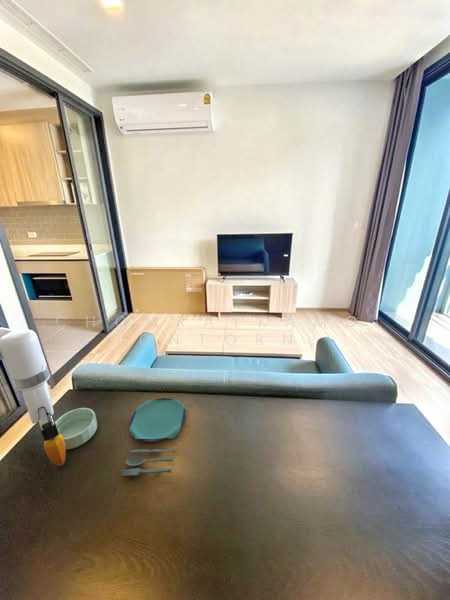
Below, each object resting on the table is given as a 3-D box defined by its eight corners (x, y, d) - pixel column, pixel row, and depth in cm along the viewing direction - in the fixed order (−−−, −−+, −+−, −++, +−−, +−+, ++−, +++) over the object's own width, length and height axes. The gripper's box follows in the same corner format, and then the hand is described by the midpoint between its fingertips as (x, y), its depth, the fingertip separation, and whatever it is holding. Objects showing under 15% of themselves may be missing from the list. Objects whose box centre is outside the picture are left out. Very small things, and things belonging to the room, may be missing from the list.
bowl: (57, 458, 78) (53, 447, 76) (51, 431, 88) (48, 420, 86) (102, 435, 86) (99, 424, 84) (92, 412, 95) (89, 402, 94)
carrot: (66, 454, 79) (54, 418, 74) (74, 463, 76) (62, 426, 71) (49, 467, 75) (35, 430, 70) (56, 477, 73) (42, 439, 67)
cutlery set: (189, 401, 101) (188, 396, 100) (177, 476, 73) (177, 470, 72) (139, 402, 100) (139, 397, 99) (109, 478, 72) (107, 472, 71)
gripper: (12, 367, 68) (30, 415, 74) (14, 401, 56) (36, 456, 62) (44, 356, 73) (59, 402, 79) (53, 386, 60) (70, 438, 66)
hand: (49, 426), depth 70 cm, fingers open, 9 cm apart
